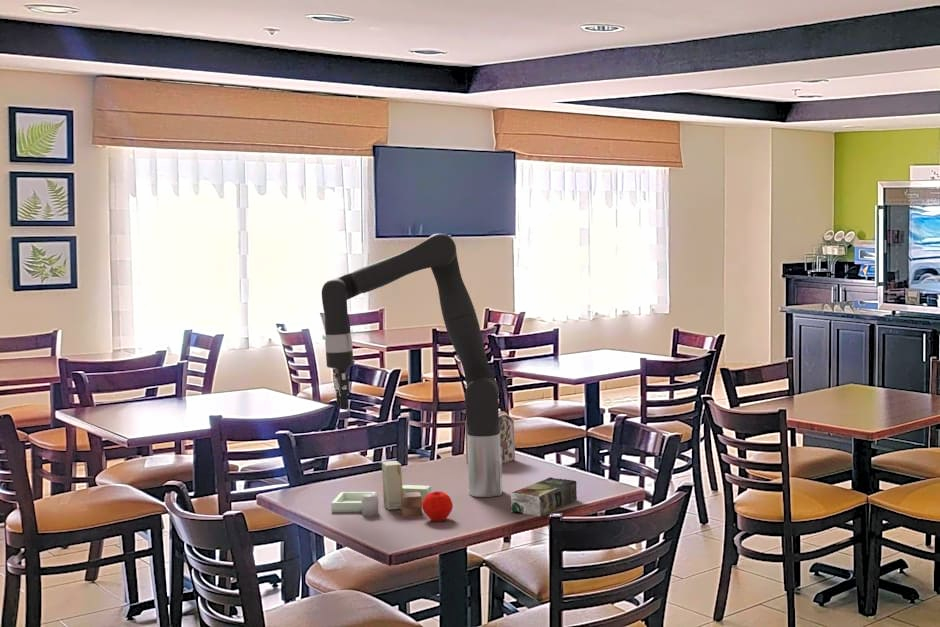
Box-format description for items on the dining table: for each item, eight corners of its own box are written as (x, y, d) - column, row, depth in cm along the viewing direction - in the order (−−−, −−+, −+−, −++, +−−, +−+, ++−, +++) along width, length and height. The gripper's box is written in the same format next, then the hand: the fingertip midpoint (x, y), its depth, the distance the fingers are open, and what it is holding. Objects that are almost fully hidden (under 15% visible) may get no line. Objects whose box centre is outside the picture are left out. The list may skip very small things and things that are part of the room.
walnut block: (419, 510, 284) (419, 491, 284) (422, 514, 279) (421, 496, 279) (401, 511, 284) (400, 493, 283) (403, 516, 279) (402, 497, 278)
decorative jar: (465, 463, 341) (463, 407, 339) (487, 456, 350) (486, 402, 348) (494, 467, 333) (492, 410, 332) (516, 460, 342) (514, 405, 340)
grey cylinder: (379, 511, 284) (379, 493, 283) (376, 516, 279) (376, 497, 279) (363, 511, 284) (363, 493, 284) (360, 516, 280) (359, 497, 279)
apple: (424, 515, 278) (423, 488, 277) (454, 515, 277) (453, 487, 277) (420, 524, 270) (419, 495, 270) (451, 523, 269) (450, 495, 269)
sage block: (431, 499, 295) (430, 485, 295) (426, 503, 291) (426, 489, 291) (404, 498, 297) (403, 484, 297) (399, 502, 294) (399, 488, 293)
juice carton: (539, 518, 273) (538, 494, 272) (507, 513, 278) (506, 490, 278) (578, 502, 289) (577, 479, 288) (548, 498, 295) (547, 476, 294)
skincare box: (403, 509, 286) (402, 464, 285) (388, 510, 284) (386, 465, 283) (398, 503, 292) (396, 459, 291) (383, 505, 290) (381, 461, 290)
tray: (376, 500, 296) (376, 491, 295) (368, 511, 284) (367, 502, 284) (341, 500, 297) (341, 492, 296) (331, 512, 285) (331, 502, 285)
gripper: (355, 351, 291) (359, 409, 292) (349, 346, 305) (352, 402, 306) (328, 353, 289) (332, 411, 290) (323, 348, 303) (326, 404, 304)
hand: (342, 406), depth 298 cm, fingers open, 8 cm apart
